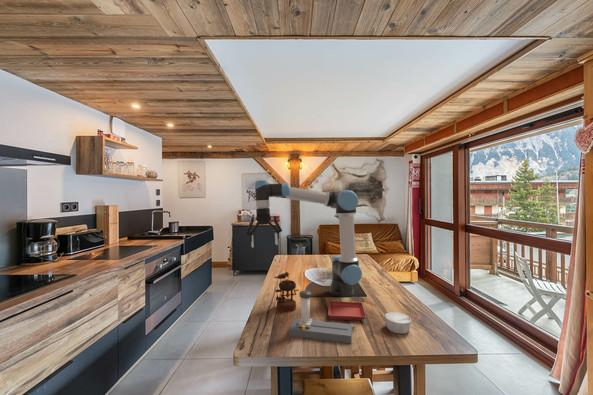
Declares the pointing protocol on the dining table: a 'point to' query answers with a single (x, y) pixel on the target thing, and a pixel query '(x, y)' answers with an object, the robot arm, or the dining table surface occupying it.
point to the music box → (287, 286)
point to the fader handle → (305, 309)
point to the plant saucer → (346, 311)
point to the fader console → (323, 331)
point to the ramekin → (398, 322)
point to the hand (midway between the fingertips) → (264, 246)
